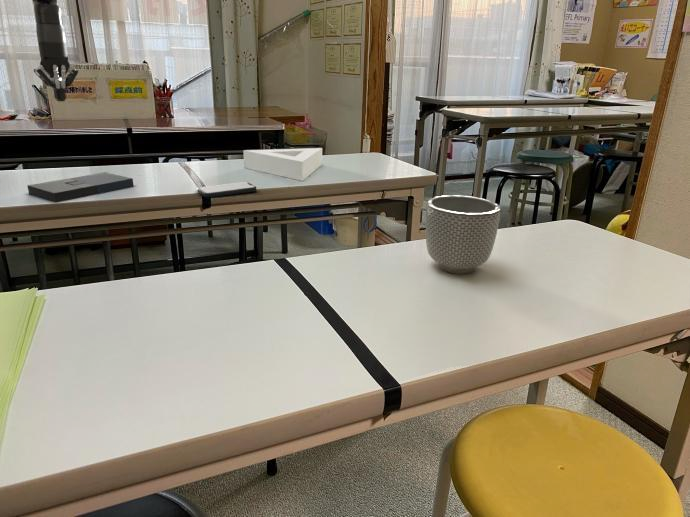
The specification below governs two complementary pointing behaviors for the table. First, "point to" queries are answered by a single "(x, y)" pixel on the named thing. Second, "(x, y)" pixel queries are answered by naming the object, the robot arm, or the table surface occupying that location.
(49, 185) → the black pad
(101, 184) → the slate pad
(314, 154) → the triangle block
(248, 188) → the phone case
